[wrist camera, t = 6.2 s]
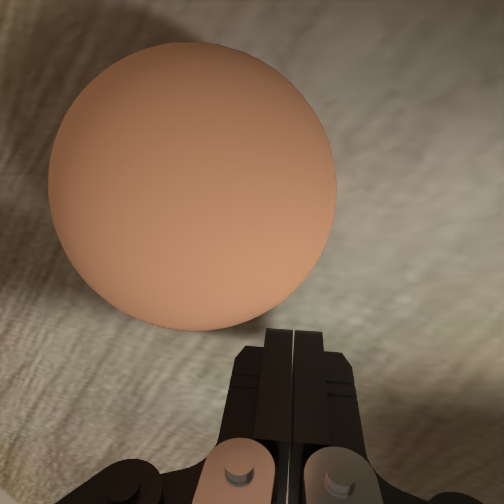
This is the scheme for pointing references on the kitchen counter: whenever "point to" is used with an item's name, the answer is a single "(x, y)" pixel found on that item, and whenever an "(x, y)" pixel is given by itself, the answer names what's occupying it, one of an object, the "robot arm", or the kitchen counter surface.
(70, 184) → the orange sphere
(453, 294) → the kitchen counter surface
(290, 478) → the robot arm
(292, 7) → the kitchen counter surface
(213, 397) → the kitchen counter surface
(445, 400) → the kitchen counter surface
